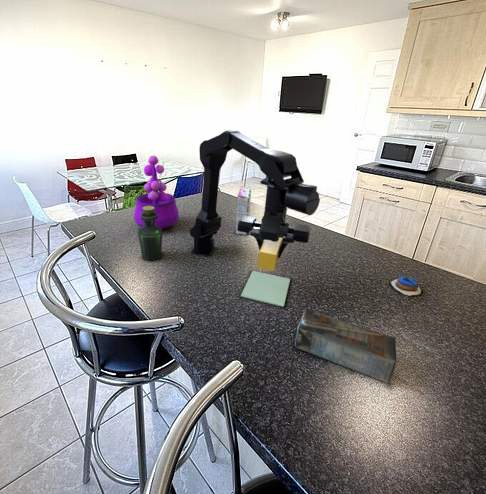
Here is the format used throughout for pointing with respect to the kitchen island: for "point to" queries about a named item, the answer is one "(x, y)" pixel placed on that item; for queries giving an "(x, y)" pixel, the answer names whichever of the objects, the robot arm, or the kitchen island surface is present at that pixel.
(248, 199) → the candy bar box
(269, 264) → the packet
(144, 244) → the potion bottle
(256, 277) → the mat
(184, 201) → the kitchen island surface
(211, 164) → the robot arm
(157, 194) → the decorative plant
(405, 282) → the dessert
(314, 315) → the beverage carton
